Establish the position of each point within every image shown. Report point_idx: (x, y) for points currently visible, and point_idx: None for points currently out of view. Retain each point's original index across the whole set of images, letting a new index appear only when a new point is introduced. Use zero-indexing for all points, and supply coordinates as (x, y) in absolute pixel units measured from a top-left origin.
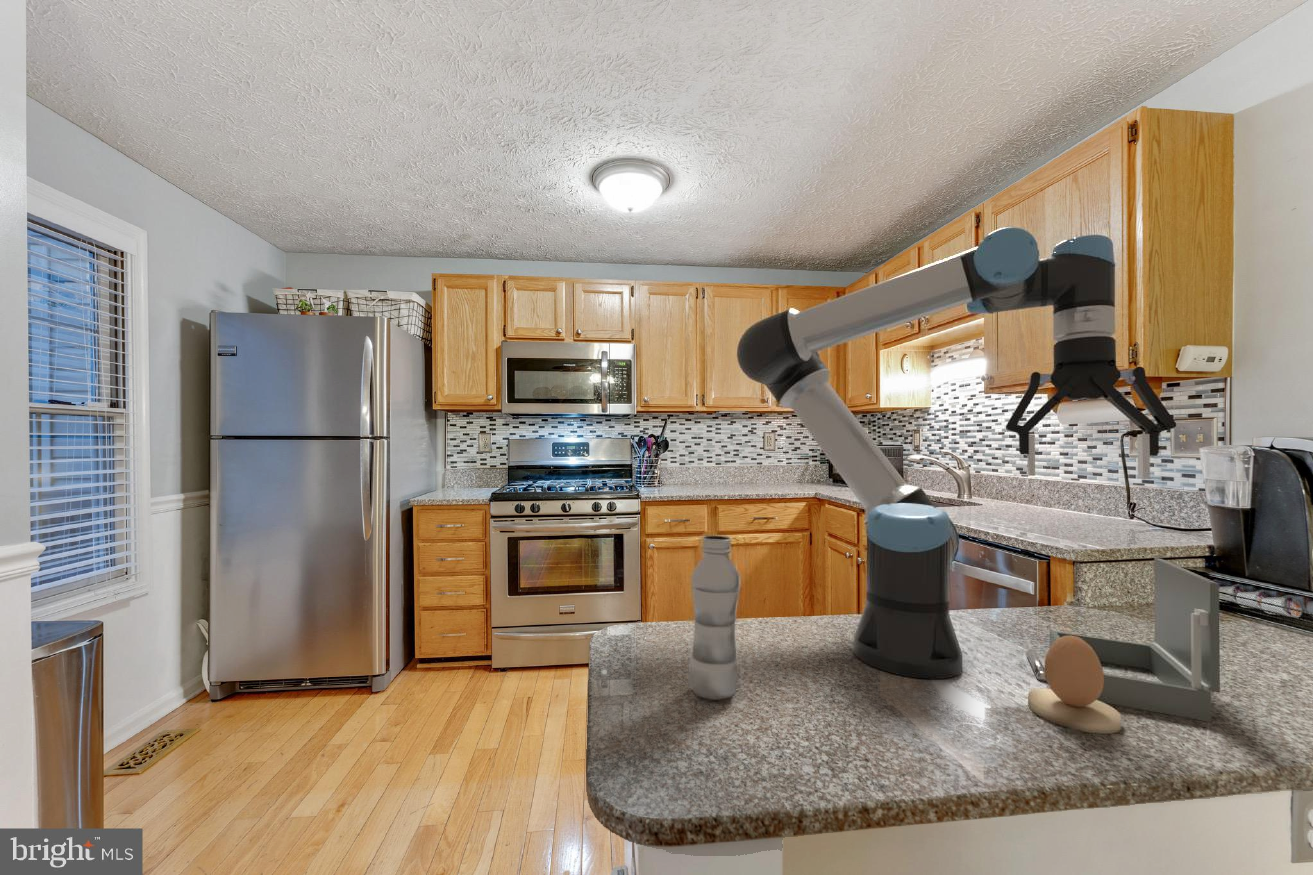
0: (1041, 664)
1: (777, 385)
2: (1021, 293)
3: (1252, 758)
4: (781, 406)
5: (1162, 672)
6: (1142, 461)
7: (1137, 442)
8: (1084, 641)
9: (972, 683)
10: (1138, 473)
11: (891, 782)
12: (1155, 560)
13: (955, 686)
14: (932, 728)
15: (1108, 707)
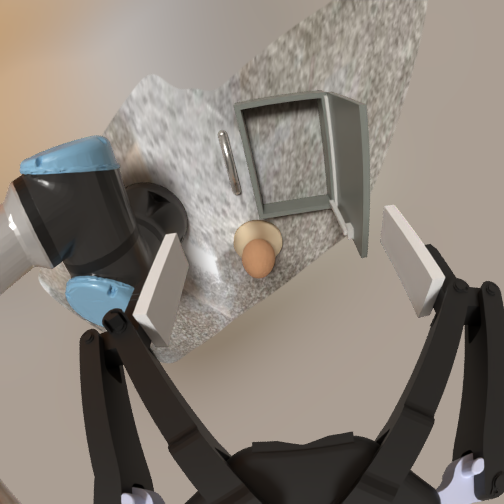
0: (233, 171)
1: None
2: None
3: (335, 236)
4: None
5: (322, 129)
6: (394, 262)
7: (421, 264)
8: (265, 273)
9: (198, 231)
10: (387, 217)
11: (207, 331)
12: (358, 108)
13: (192, 243)
14: (202, 296)
15: (276, 234)
